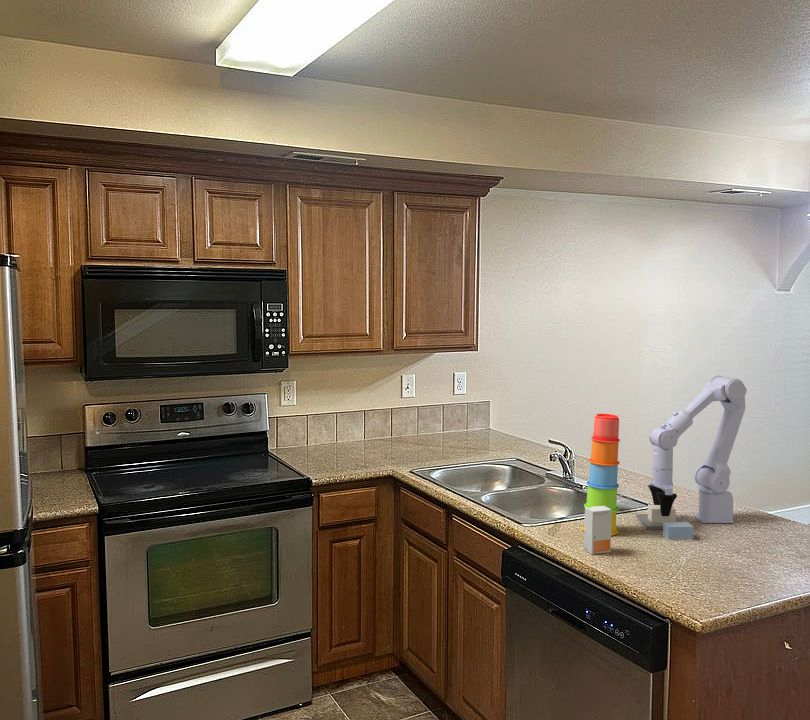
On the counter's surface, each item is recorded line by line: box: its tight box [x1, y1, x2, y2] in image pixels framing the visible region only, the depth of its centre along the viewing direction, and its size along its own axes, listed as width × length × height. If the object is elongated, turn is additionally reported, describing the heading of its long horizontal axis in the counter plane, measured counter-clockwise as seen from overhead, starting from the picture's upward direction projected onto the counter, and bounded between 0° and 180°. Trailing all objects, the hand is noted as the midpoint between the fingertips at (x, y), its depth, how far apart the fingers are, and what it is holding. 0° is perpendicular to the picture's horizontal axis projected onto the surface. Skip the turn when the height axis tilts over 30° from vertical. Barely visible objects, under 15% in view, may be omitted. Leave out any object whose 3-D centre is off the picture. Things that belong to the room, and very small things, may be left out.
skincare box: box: [583, 506, 612, 555], centre depth 207 cm, size 6×4×12 cm
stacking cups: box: [581, 413, 621, 537], centre depth 223 cm, size 10×10×35 cm
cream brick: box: [647, 504, 677, 522], centre depth 231 cm, size 7×4×4 cm, turn 87°
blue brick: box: [662, 521, 694, 540], centre depth 218 cm, size 7×4×4 cm, turn 90°
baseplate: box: [636, 513, 684, 531], centre depth 231 cm, size 12×12×1 cm
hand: (661, 512), depth 231 cm, fingers open, 7 cm apart
